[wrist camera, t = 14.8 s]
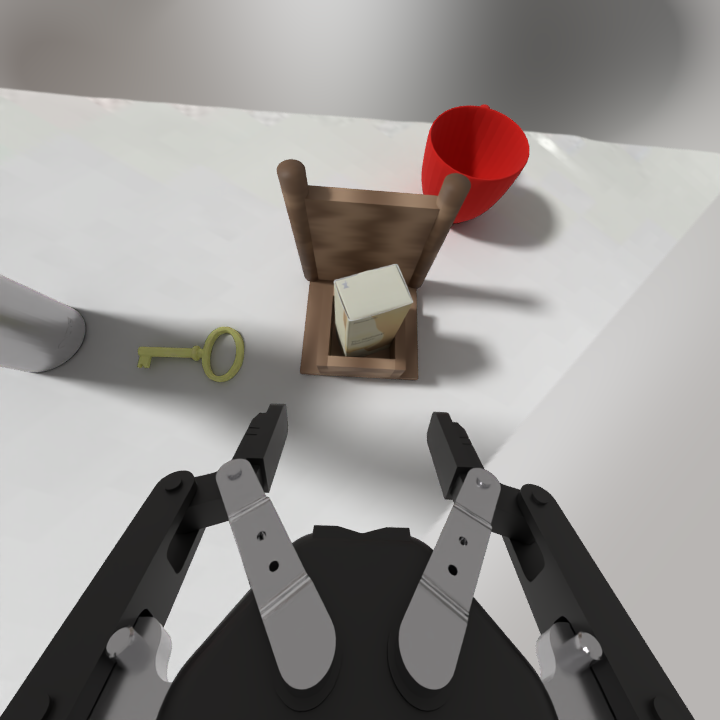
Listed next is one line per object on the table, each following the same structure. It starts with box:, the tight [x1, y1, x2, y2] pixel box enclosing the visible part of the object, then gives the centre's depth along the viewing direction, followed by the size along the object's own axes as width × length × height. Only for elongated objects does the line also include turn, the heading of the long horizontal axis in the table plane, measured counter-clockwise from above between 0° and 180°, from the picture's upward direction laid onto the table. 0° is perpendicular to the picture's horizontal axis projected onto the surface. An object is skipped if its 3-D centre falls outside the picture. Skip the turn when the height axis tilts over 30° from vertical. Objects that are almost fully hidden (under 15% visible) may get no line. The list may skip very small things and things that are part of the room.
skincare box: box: [334, 264, 413, 357], centre depth 28 cm, size 6×4×12 cm
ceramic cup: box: [422, 105, 529, 224], centre depth 38 cm, size 13×17×10 cm
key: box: [137, 327, 244, 382], centre depth 33 cm, size 7×12×2 cm, turn 109°
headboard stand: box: [277, 159, 471, 380], centre depth 28 cm, size 17×15×16 cm
